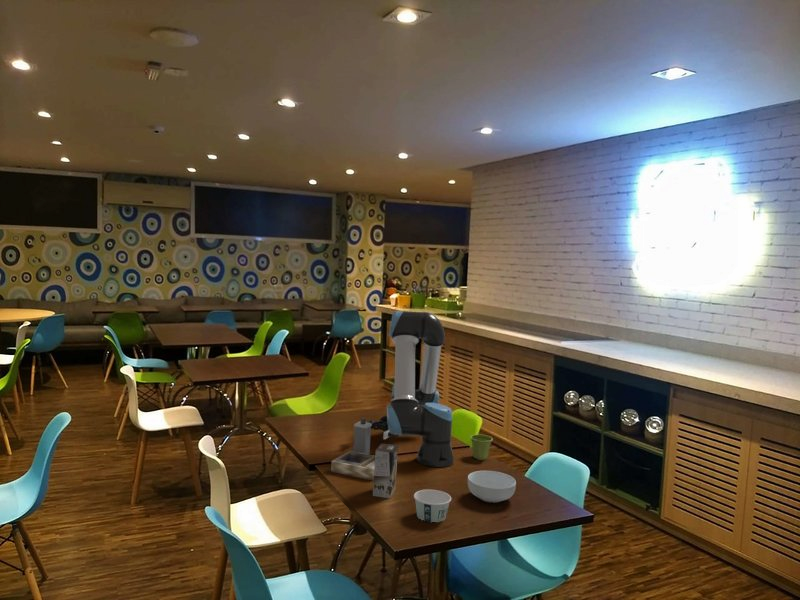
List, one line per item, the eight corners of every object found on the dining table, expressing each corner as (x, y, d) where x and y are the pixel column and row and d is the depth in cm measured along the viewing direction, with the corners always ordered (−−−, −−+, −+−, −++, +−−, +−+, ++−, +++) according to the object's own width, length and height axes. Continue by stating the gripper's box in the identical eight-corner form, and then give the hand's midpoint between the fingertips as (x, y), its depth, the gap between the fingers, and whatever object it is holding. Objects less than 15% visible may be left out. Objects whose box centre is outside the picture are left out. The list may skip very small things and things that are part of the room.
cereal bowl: (458, 491, 213) (459, 472, 213) (498, 487, 219) (499, 468, 219) (481, 510, 197) (483, 489, 197) (524, 505, 203) (525, 485, 203)
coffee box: (390, 498, 202) (393, 452, 201) (372, 496, 204) (374, 450, 203) (396, 489, 211) (398, 444, 210) (378, 487, 213) (381, 442, 212)
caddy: (390, 468, 232) (391, 458, 232) (374, 480, 218) (374, 470, 218) (349, 460, 239) (349, 450, 239) (331, 471, 225) (331, 461, 225)
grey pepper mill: (369, 456, 246) (372, 418, 245) (364, 460, 241) (366, 421, 240) (358, 454, 248) (360, 416, 247) (352, 457, 243) (354, 419, 242)
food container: (420, 506, 198) (421, 486, 198) (454, 513, 193) (456, 493, 193) (406, 519, 187) (408, 499, 187) (443, 527, 182) (444, 506, 182)
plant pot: (492, 462, 248) (494, 441, 247) (470, 460, 248) (471, 440, 248) (489, 455, 257) (491, 435, 257) (468, 453, 257) (469, 433, 257)
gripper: (414, 435, 266) (395, 447, 246) (364, 426, 276) (342, 437, 256) (415, 418, 265) (397, 429, 246) (365, 410, 275) (343, 420, 256)
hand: (369, 433), depth 251 cm, fingers open, 13 cm apart
